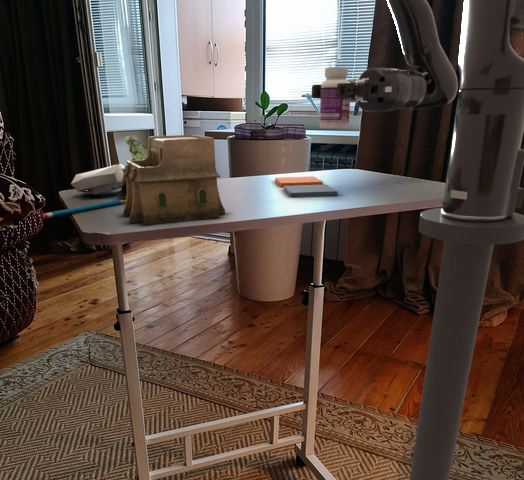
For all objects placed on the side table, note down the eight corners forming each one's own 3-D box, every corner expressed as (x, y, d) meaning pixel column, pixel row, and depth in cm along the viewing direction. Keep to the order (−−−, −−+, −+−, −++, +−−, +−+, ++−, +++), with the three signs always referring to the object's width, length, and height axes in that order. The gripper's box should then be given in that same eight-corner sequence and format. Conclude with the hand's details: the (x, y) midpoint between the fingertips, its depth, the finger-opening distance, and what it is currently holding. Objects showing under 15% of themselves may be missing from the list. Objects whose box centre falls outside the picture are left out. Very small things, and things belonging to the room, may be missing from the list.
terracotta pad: (314, 180, 114) (314, 176, 114) (322, 185, 106) (322, 181, 106) (275, 181, 114) (275, 177, 113) (280, 187, 106) (280, 183, 105)
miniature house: (204, 202, 90) (199, 133, 85) (230, 216, 78) (226, 137, 73) (119, 210, 85) (109, 137, 80) (133, 226, 73) (122, 142, 68)
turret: (157, 187, 111) (151, 164, 110) (112, 187, 93) (105, 160, 92) (117, 196, 114) (111, 174, 113) (66, 198, 96) (59, 172, 94)
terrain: (186, 205, 94) (192, 196, 92) (144, 207, 87) (150, 197, 85) (151, 142, 96) (156, 132, 94) (108, 139, 90) (112, 129, 88)
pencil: (43, 214, 79) (44, 218, 79) (128, 198, 91) (129, 202, 92) (41, 214, 79) (42, 218, 80) (125, 198, 92) (126, 202, 92)
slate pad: (326, 188, 103) (327, 184, 102) (337, 195, 95) (337, 191, 94) (283, 189, 102) (283, 185, 102) (290, 197, 94) (290, 192, 94)
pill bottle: (348, 128, 89) (351, 66, 85) (318, 128, 90) (320, 67, 86) (349, 126, 94) (352, 67, 90) (320, 127, 95) (322, 68, 91)
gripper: (356, 70, 101) (296, 69, 91) (418, 65, 91) (359, 63, 81) (354, 111, 104) (296, 114, 94) (414, 111, 95) (356, 114, 85)
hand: (325, 91), depth 88 cm, fingers closed on pill bottle, 5 cm apart
